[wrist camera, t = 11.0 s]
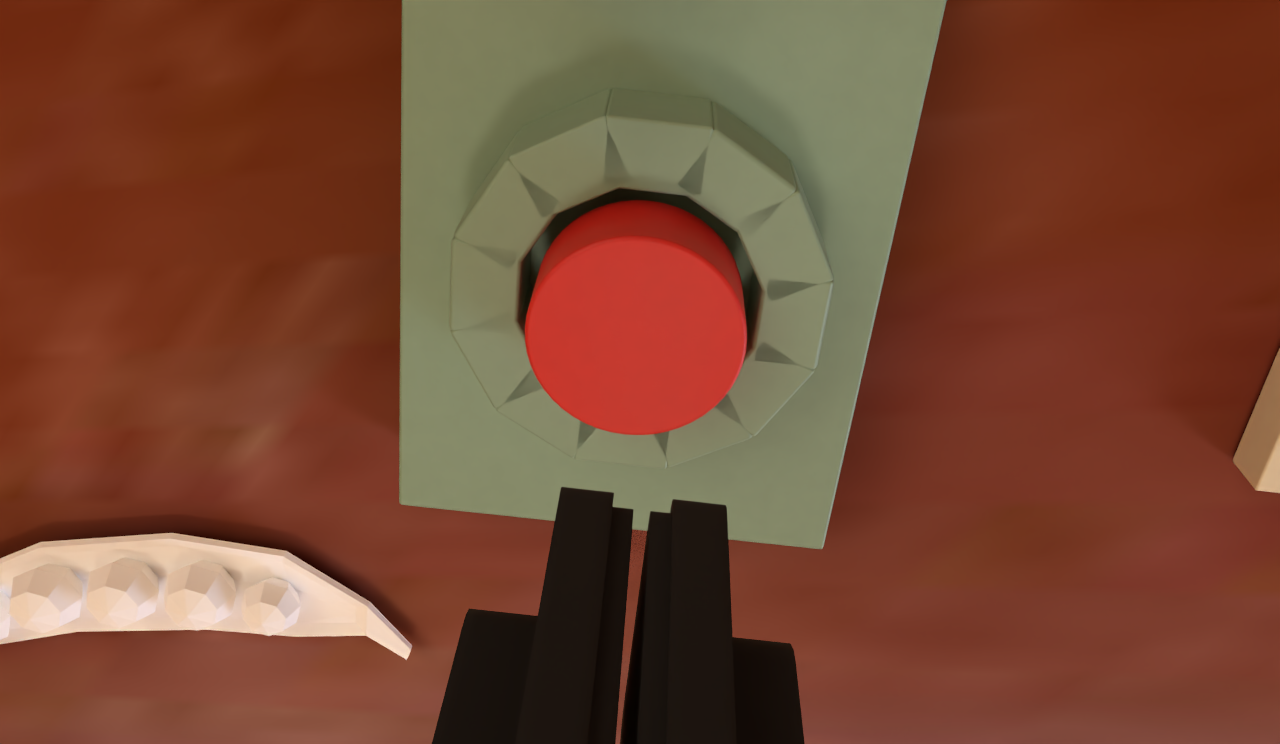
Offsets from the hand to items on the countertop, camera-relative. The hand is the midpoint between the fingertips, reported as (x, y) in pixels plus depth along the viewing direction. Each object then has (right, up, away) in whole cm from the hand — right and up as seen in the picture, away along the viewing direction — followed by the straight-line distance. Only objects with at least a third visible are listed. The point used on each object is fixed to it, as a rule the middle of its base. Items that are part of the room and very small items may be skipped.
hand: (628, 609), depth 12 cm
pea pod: (-13, -3, +17) cm, 21 cm away
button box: (0, +5, +11) cm, 13 cm away
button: (0, +4, +8) cm, 9 cm away
